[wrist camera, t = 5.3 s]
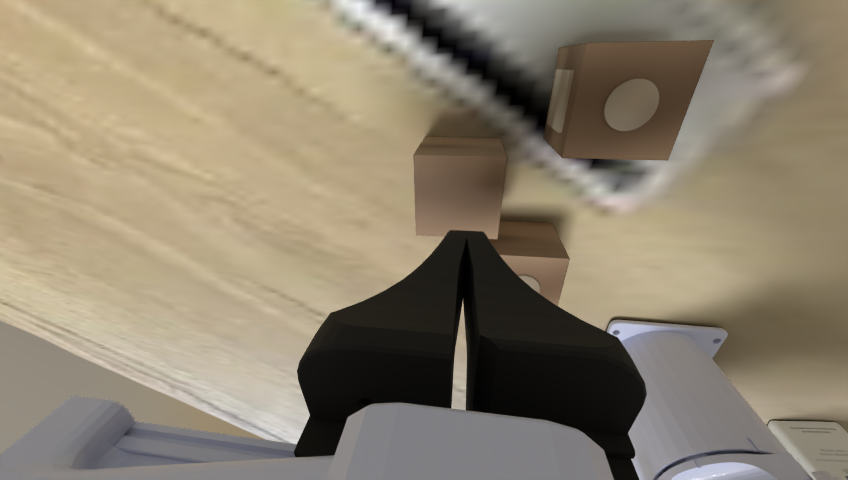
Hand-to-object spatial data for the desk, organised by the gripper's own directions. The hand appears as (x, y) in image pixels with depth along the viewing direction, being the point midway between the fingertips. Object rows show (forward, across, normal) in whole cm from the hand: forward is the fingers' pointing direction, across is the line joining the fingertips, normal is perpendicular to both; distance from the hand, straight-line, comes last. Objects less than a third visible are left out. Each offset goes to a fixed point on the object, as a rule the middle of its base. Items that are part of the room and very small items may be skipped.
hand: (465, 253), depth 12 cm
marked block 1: (+10, -6, -5) cm, 12 cm away
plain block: (+10, 0, 0) cm, 10 cm away
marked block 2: (+10, -4, +5) cm, 11 cm away
